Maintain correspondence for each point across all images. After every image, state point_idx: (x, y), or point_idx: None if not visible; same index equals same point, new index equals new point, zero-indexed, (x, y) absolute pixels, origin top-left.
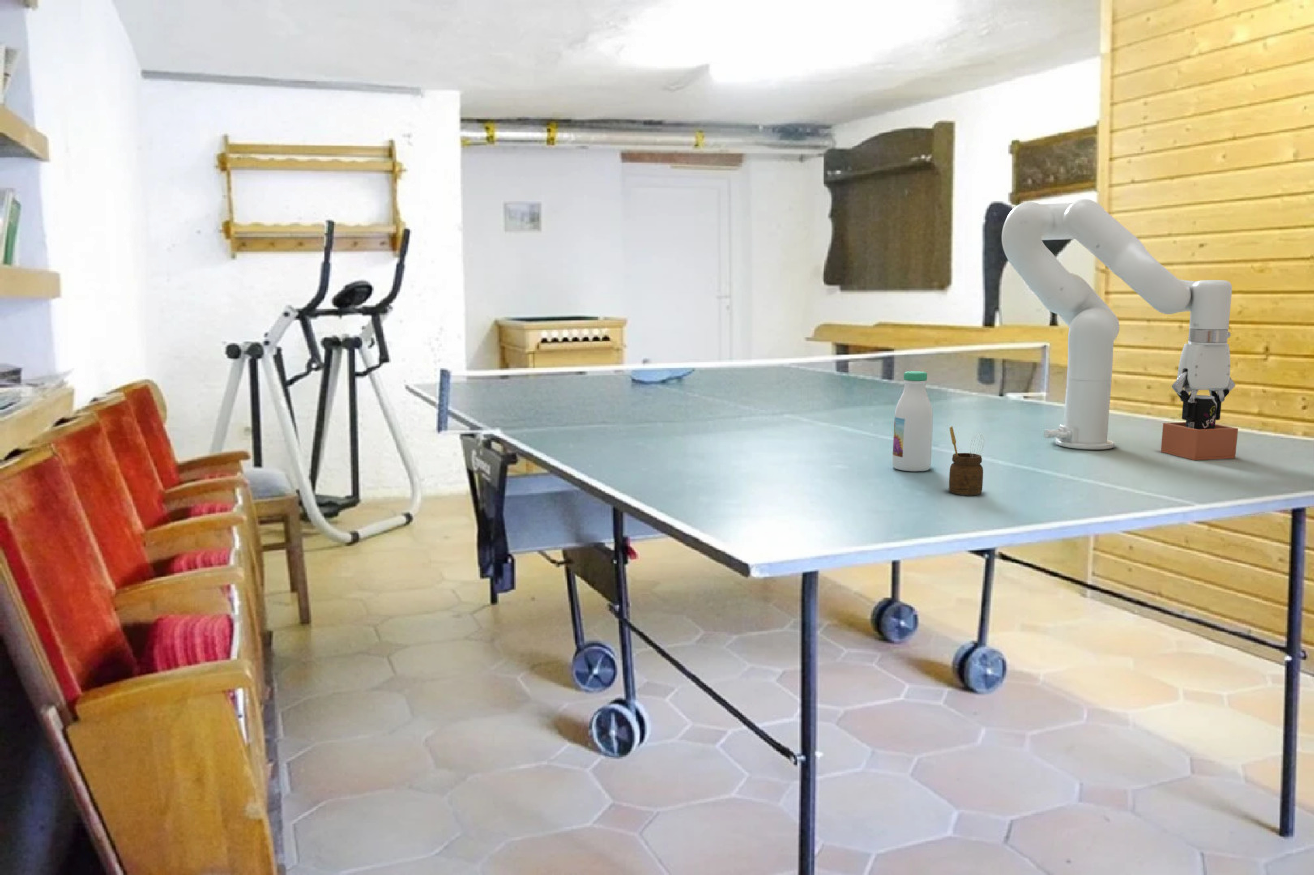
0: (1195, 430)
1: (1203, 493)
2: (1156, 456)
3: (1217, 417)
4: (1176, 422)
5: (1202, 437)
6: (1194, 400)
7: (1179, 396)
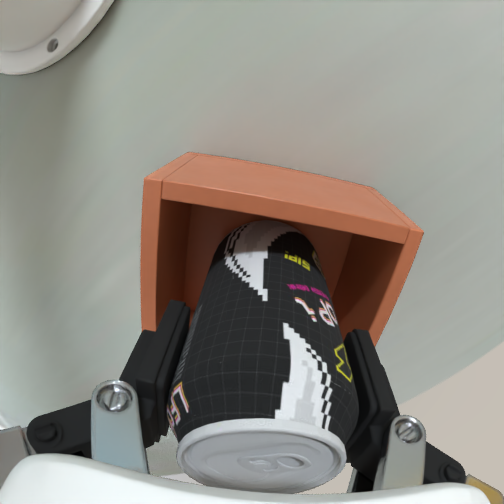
0: None
1: None
2: (107, 216)
3: None
4: (237, 197)
5: None
6: (177, 439)
7: (61, 413)
